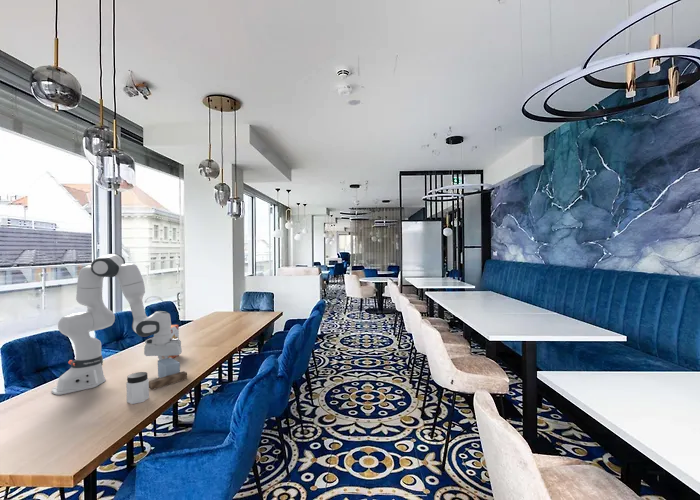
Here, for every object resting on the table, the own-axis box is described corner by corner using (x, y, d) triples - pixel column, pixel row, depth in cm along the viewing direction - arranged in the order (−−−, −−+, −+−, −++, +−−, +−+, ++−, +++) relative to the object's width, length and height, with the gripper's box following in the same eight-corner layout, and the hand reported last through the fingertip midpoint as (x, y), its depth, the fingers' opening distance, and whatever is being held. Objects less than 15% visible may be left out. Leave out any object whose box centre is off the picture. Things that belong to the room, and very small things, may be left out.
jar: (123, 401, 161) (123, 376, 161) (141, 395, 168) (140, 370, 168) (134, 405, 157) (133, 379, 157) (152, 398, 164) (151, 373, 164)
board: (151, 389, 175) (151, 382, 175) (148, 388, 177) (148, 381, 177) (187, 379, 189) (187, 372, 189) (183, 377, 191) (183, 371, 191)
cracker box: (168, 361, 221) (167, 329, 221) (159, 361, 221) (158, 329, 221) (179, 355, 235) (179, 324, 235) (171, 355, 235) (170, 324, 235)
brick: (166, 382, 185) (166, 365, 185) (158, 376, 194) (157, 360, 194) (180, 378, 190) (179, 362, 190) (171, 372, 199) (170, 357, 199)
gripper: (183, 337, 202) (184, 360, 202) (148, 338, 202) (149, 361, 202) (177, 340, 195) (178, 364, 195) (142, 340, 196) (142, 365, 196)
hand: (163, 363), depth 199 cm, fingers closed
